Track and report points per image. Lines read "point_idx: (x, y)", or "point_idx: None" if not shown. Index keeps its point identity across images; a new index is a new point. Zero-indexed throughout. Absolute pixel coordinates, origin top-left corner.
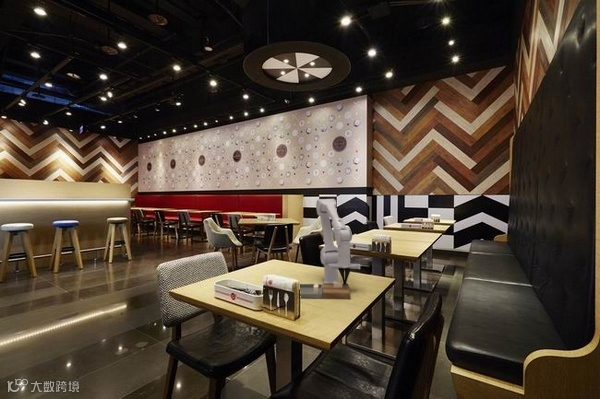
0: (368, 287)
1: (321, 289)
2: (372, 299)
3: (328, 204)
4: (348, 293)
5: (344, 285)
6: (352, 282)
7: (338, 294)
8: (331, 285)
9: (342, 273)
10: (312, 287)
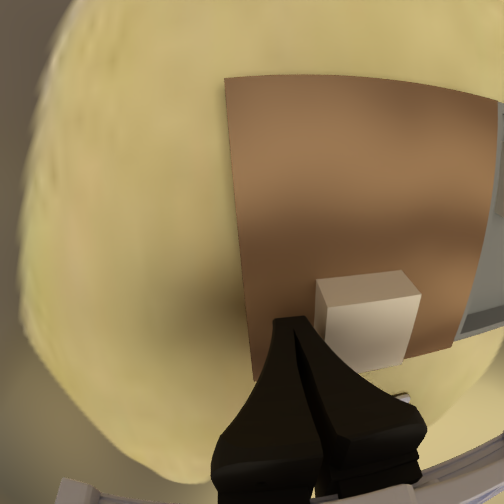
0: (107, 372)
1: (489, 222)
2: (37, 128)
3: None
4: (246, 81)
5: None
6: None
7: (363, 77)
8: None
9: (358, 404)
10: (493, 308)
